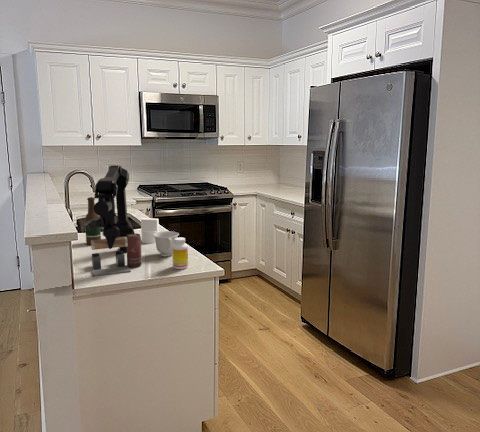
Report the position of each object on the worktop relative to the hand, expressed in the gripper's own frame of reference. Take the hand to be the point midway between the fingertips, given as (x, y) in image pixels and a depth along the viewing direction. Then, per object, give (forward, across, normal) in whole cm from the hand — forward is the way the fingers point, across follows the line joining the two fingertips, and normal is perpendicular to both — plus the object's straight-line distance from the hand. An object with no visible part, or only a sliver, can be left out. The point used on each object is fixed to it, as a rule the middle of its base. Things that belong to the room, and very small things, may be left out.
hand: (109, 247), depth 184 cm
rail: (0, 0, 0) cm, 0 cm away
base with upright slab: (+11, -42, +26) cm, 50 cm away
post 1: (+11, -8, -5) cm, 14 cm away
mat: (+10, 0, 0) cm, 11 cm away
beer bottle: (+11, -48, -2) cm, 49 cm away
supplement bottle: (+11, +5, +28) cm, 31 cm away
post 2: (+11, -8, +5) cm, 14 cm away
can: (+11, -4, +10) cm, 16 cm away
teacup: (+11, -14, +28) cm, 33 cm away
